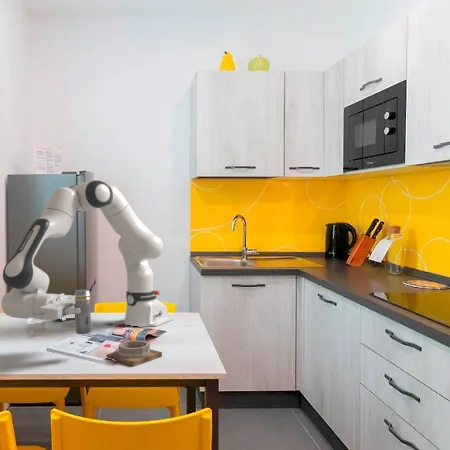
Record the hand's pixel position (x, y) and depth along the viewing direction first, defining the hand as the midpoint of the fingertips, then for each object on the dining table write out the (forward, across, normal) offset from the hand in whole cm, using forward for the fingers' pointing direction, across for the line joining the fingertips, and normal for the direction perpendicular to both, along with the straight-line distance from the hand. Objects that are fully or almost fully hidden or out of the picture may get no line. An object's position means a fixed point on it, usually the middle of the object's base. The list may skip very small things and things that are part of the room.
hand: (85, 308), depth 167 cm
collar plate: (+16, +3, +17) cm, 23 cm away
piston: (-1, 0, +8) cm, 8 cm away
